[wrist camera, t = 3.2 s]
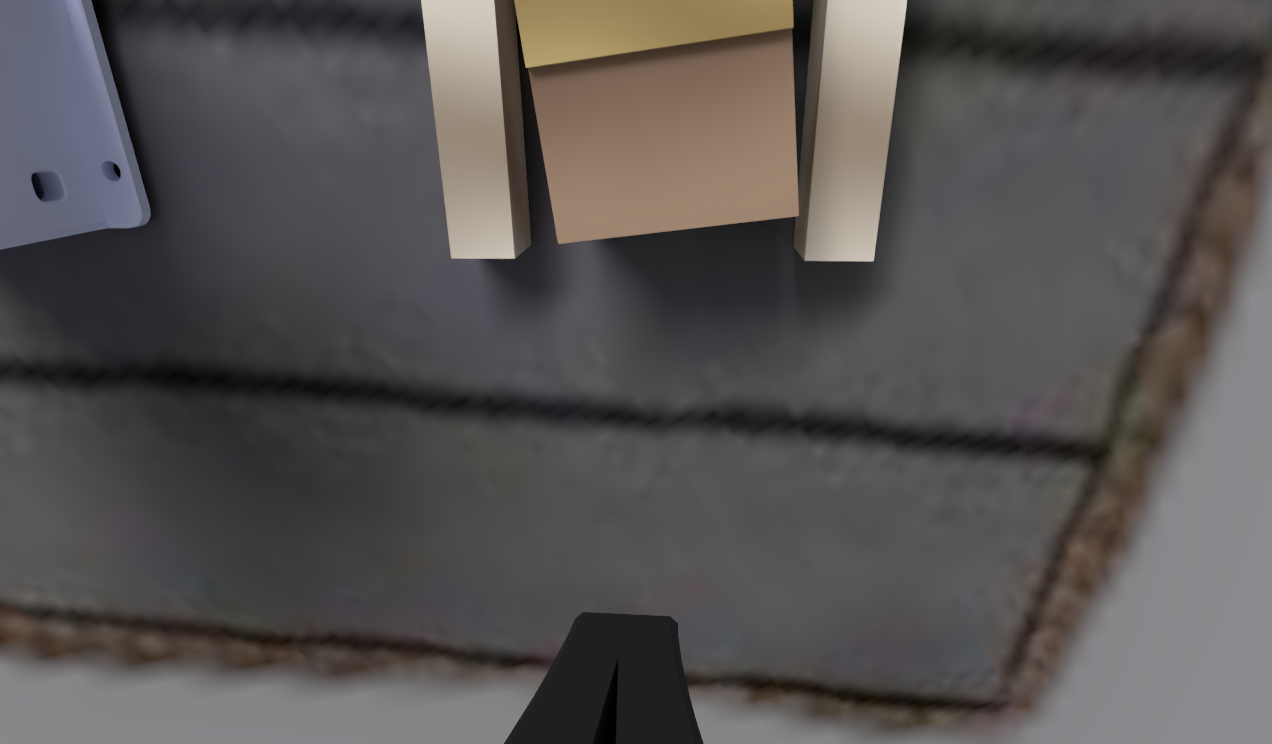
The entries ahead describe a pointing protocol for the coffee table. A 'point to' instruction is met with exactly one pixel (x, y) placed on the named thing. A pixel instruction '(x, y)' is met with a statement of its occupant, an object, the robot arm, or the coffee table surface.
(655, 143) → the rider block
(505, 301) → the coffee table surface
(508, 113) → the beam slot
